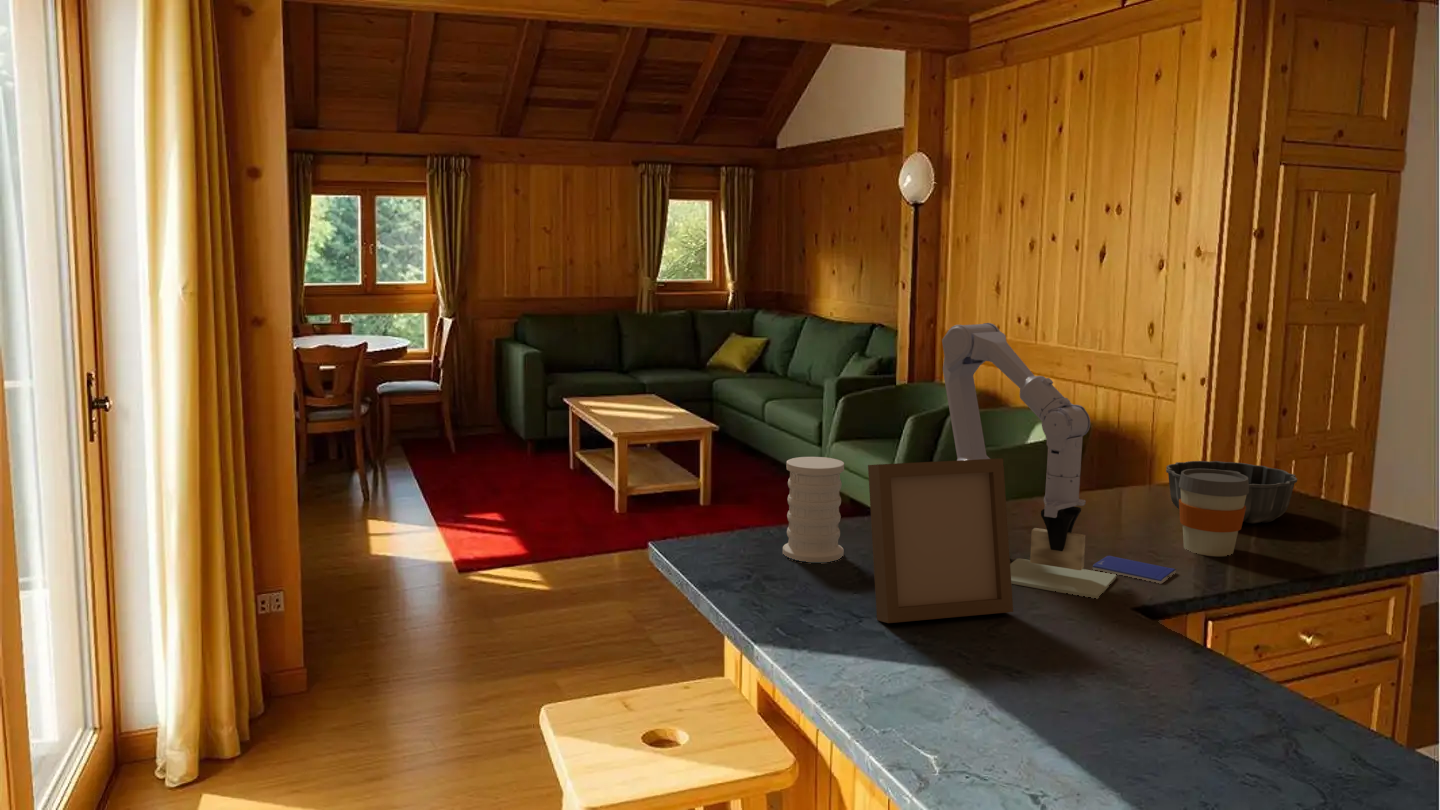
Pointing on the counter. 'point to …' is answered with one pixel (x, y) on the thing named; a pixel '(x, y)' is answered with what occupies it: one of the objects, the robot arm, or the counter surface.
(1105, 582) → the mat
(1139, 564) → the hard drive
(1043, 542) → the oak tile
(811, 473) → the decorative container
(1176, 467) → the bundt pan
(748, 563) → the counter surface
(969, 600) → the photo frame
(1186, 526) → the reusable coffee cup
